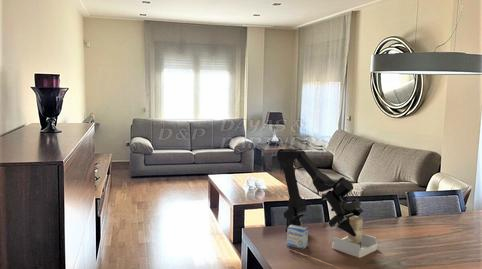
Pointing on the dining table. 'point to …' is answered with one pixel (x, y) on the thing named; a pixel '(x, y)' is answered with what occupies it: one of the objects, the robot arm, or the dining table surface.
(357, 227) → the birch block
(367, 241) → the white open box
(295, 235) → the medicine box
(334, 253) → the dining table surface
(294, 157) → the robot arm
